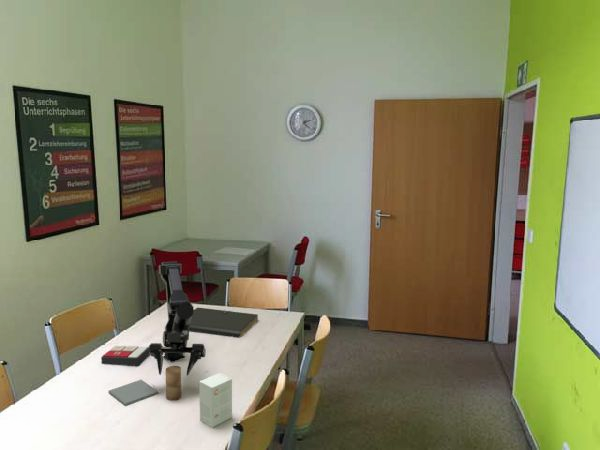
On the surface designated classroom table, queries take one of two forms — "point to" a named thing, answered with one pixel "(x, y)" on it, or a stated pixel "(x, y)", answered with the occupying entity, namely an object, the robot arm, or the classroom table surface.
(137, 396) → the pad
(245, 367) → the classroom table surface
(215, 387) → the small box
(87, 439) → the classroom table surface
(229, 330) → the file folder
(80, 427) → the classroom table surface
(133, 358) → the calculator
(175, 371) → the roller
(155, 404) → the classroom table surface
